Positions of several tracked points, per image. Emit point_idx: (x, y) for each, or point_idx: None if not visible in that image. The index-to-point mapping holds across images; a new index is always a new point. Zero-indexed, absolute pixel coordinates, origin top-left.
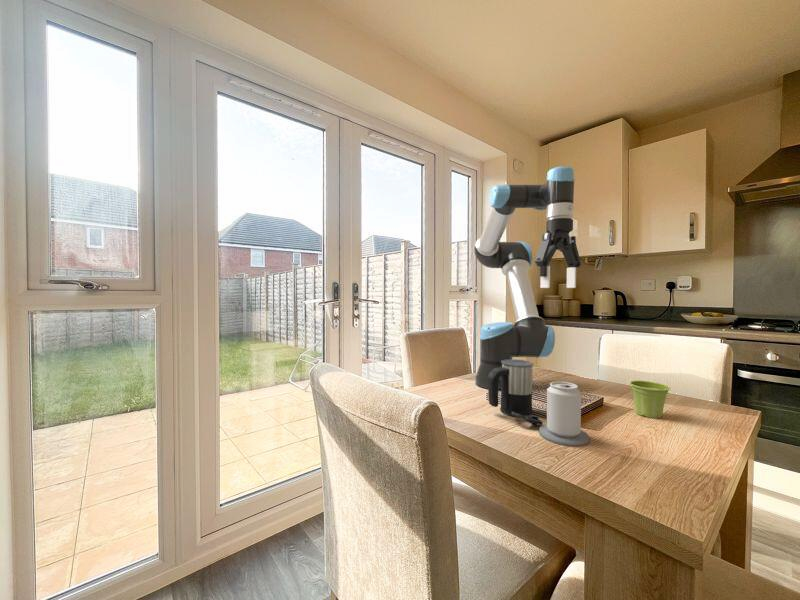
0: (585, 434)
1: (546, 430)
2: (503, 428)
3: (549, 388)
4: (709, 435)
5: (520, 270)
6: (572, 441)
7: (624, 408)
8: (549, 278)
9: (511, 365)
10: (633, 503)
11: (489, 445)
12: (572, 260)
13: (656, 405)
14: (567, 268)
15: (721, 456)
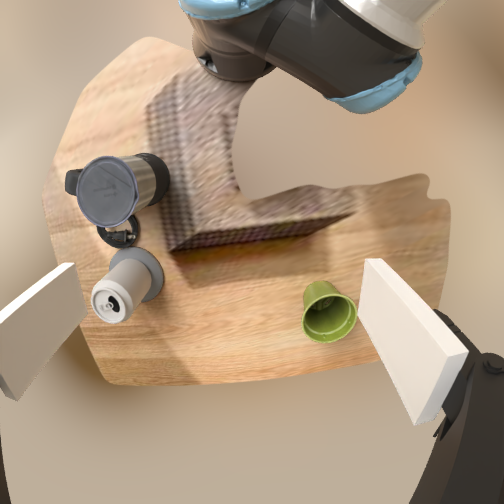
0: (154, 292)
1: (120, 260)
2: (87, 219)
3: (94, 290)
4: (297, 355)
5: None
6: None
7: (320, 263)
8: (56, 344)
9: (80, 206)
10: (100, 357)
11: (53, 245)
12: (420, 484)
13: (310, 319)
14: (438, 359)
15: (243, 375)
